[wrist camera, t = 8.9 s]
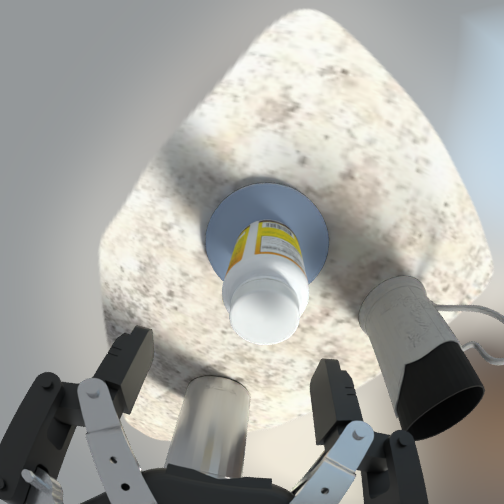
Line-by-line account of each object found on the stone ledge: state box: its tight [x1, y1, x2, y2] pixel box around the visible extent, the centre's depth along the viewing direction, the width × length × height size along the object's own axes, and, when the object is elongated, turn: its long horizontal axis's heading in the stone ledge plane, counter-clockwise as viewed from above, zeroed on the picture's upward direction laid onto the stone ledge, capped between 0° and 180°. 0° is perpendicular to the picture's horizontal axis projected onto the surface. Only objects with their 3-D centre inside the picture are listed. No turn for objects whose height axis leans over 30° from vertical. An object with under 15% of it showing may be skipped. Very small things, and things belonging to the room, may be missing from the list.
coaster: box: [206, 183, 329, 284], centre depth 24 cm, size 11×11×1 cm
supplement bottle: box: [222, 219, 309, 345], centre depth 19 cm, size 6×6×10 cm
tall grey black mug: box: [359, 276, 504, 441], centre depth 20 cm, size 9×14×15 cm, turn 120°
